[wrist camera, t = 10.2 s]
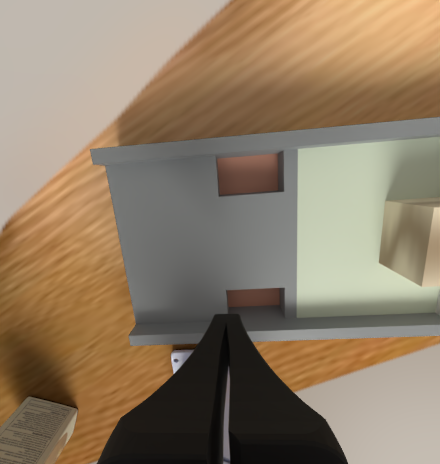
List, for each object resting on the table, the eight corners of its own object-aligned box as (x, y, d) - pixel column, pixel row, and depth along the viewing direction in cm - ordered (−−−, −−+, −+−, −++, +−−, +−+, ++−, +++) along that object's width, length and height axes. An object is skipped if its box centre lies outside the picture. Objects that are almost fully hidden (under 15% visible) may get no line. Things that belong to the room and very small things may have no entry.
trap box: (420, 305, 21) (471, 339, 16) (147, 316, 22) (127, 350, 18) (449, 125, 17) (525, 107, 13) (119, 155, 19) (85, 148, 14)
